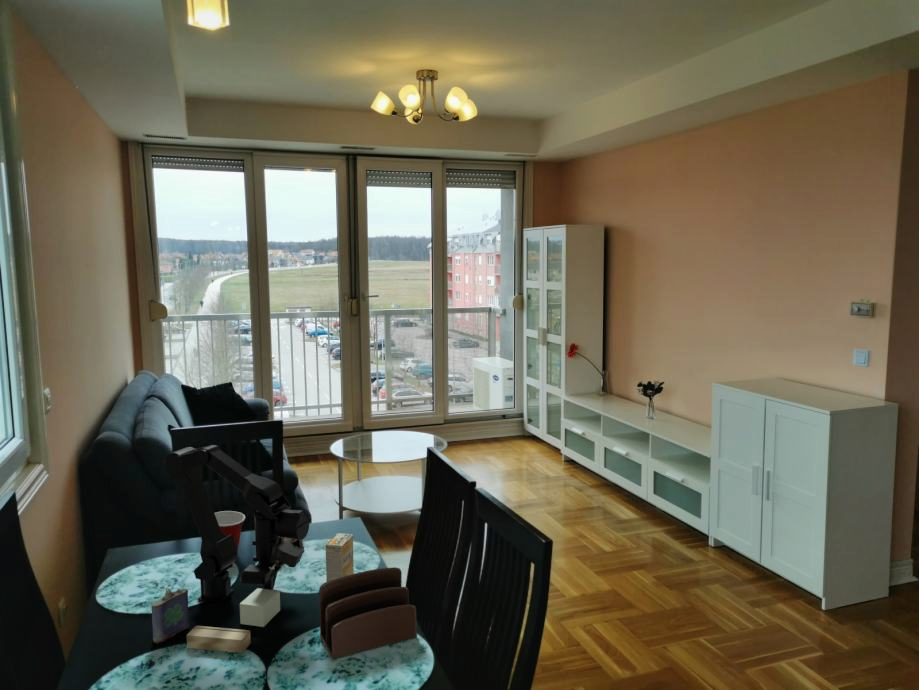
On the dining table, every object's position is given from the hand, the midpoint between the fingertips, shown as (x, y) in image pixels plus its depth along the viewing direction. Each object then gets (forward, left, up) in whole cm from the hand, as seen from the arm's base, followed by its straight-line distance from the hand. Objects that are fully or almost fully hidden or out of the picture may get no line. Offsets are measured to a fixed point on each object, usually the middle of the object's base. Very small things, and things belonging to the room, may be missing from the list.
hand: (269, 594), depth 168 cm
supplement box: (+14, +12, -3) cm, 19 cm away
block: (0, -5, -3) cm, 6 cm away
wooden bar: (-4, -19, -3) cm, 19 cm away
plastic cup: (-25, +25, -3) cm, 36 cm away
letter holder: (+28, -10, -4) cm, 30 cm away
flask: (-17, -16, -3) cm, 23 cm away
